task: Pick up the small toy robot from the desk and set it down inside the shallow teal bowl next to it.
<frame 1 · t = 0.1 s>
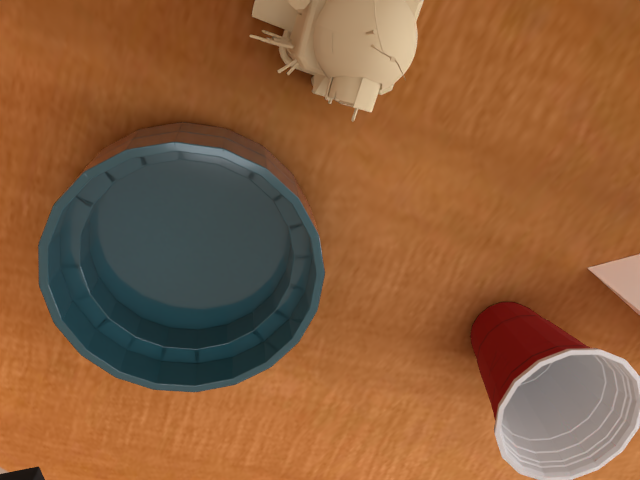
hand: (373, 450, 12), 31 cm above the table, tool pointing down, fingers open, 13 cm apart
robot: (326, 36, 39), on the table
plastic cup: (500, 326, 50), on the table
shallow teal bowl: (192, 242, 43), on the table
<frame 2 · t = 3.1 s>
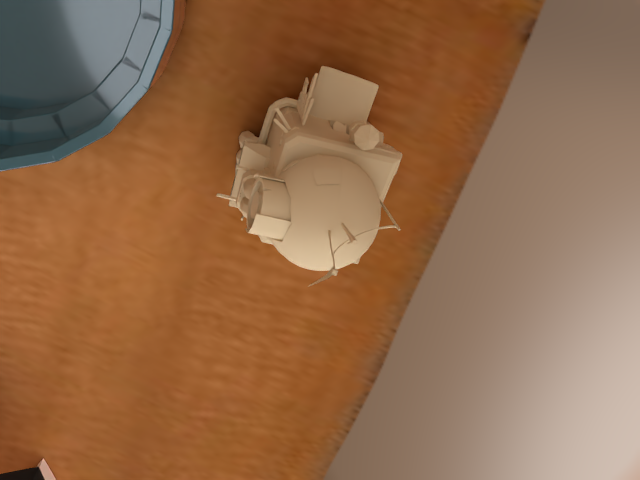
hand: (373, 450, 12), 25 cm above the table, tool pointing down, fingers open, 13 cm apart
robot: (294, 146, 35), on the table
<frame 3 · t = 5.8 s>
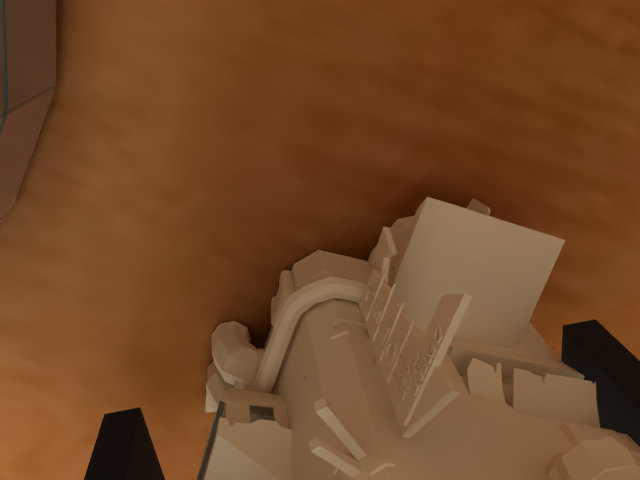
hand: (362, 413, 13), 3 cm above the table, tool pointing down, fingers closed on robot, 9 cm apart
robot: (338, 344, 16), on the table, touching gripper
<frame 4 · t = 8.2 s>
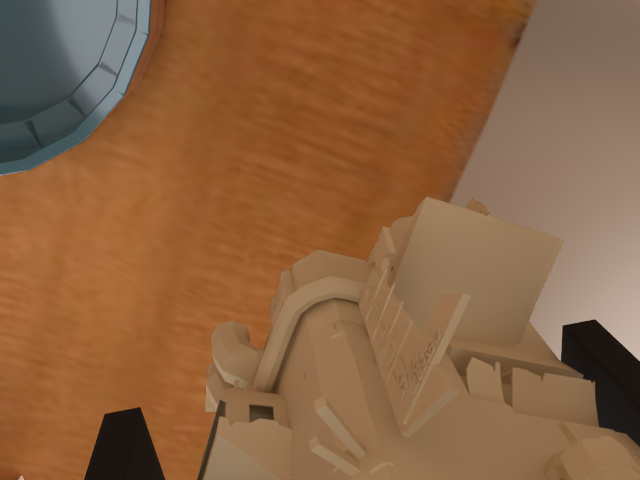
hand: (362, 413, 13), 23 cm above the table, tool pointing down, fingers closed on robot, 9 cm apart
robot: (338, 344, 16), point 20 cm above the table, touching gripper
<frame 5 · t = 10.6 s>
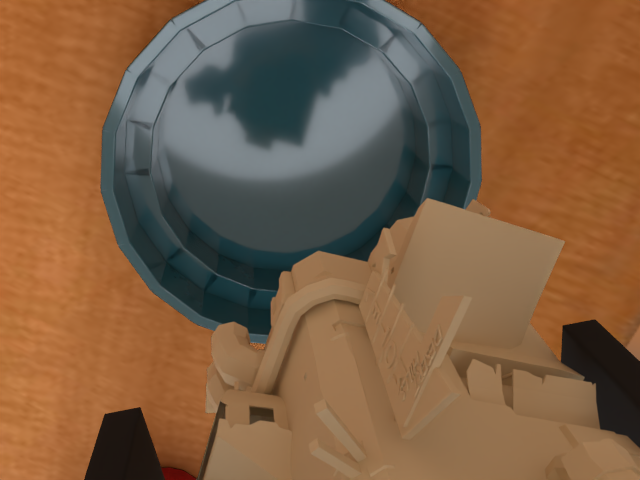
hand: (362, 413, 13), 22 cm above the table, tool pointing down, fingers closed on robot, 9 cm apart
robot: (338, 345, 16), point 19 cm above the table, touching gripper
shallow teal bowl: (289, 153, 33), on the table
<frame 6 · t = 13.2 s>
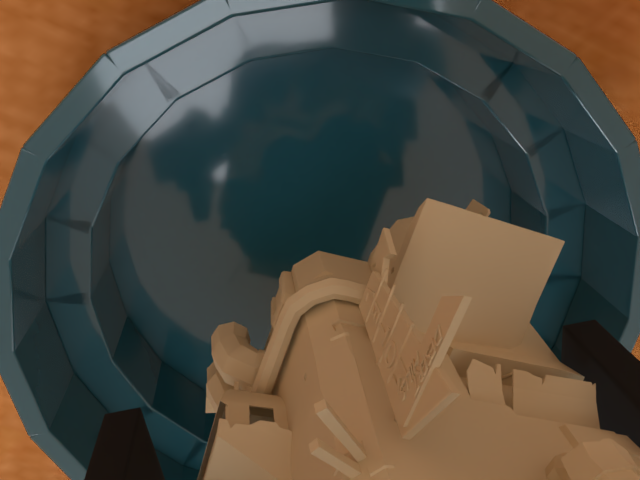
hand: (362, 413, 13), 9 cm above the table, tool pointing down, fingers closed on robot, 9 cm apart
robot: (338, 345, 16), point 6 cm above the table, touching gripper
shallow teal bowl: (316, 245, 21), on the table
when the fingers open (3 cm above the table, at t = 15.3 s): robot stays where it is, resting on shallow teal bowl.
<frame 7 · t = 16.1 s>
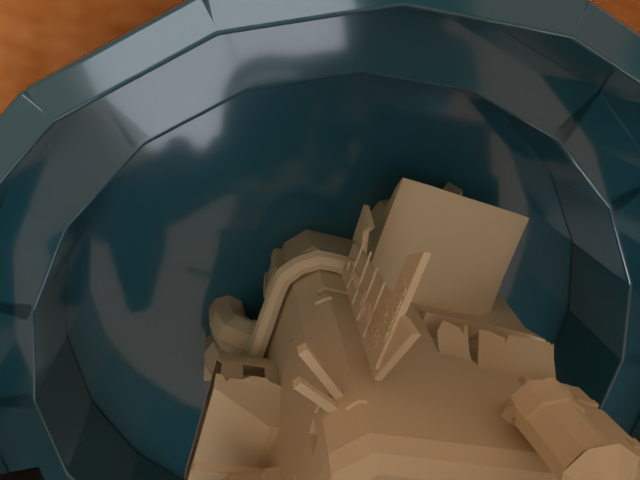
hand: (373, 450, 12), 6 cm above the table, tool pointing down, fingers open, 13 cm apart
robot: (326, 318, 17), resting on shallow teal bowl
shallow teal bowl: (328, 310, 17), on the table
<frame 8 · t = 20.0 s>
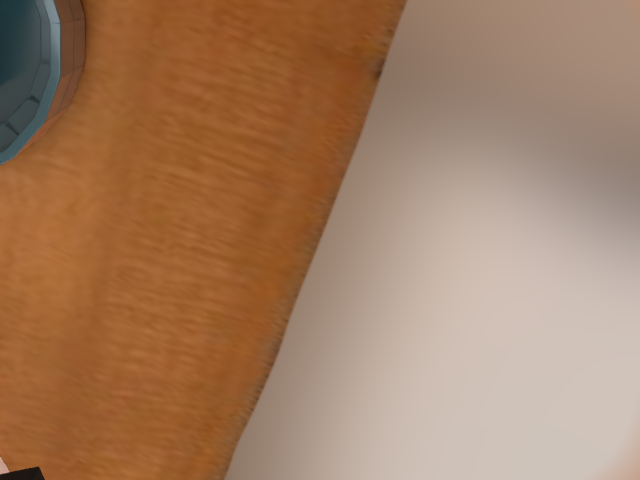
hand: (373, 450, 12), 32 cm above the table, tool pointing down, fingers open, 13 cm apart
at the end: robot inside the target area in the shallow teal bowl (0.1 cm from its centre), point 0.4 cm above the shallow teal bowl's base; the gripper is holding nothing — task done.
